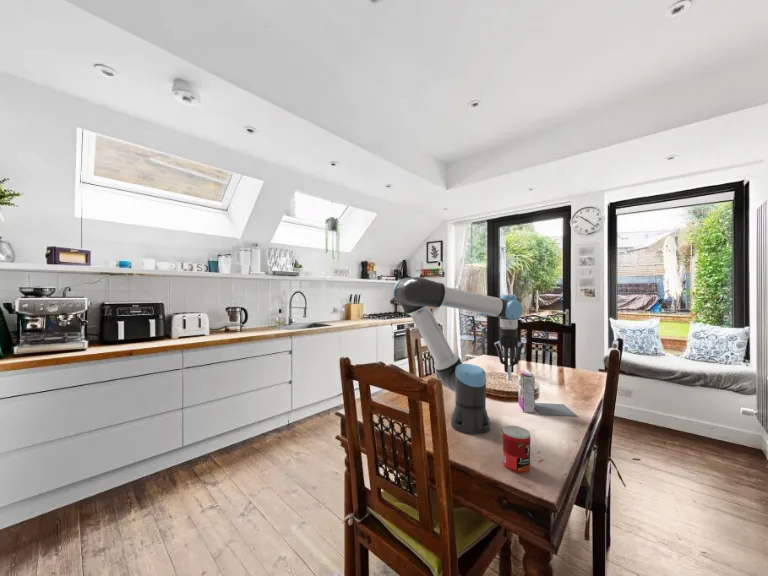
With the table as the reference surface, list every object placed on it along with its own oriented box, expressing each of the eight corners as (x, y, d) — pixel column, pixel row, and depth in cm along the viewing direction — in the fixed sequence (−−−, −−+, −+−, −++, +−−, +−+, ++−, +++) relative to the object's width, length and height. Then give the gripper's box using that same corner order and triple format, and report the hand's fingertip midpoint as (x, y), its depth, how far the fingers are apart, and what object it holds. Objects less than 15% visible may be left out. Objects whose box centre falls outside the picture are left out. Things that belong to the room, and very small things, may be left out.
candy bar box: (517, 403, 153) (517, 369, 153) (528, 404, 152) (529, 369, 152) (522, 412, 142) (523, 375, 142) (535, 413, 141) (535, 376, 141)
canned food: (521, 477, 93) (521, 439, 93) (497, 464, 100) (497, 429, 100) (535, 468, 98) (535, 432, 98) (511, 457, 104) (511, 423, 104)
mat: (540, 414, 140) (540, 413, 140) (530, 403, 154) (530, 402, 154) (577, 416, 138) (577, 415, 138) (563, 405, 152) (563, 404, 152)
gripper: (496, 329, 145) (496, 381, 145) (526, 329, 144) (526, 382, 144) (492, 327, 153) (492, 376, 153) (521, 327, 151) (521, 377, 151)
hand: (508, 379), depth 148 cm, fingers closed
